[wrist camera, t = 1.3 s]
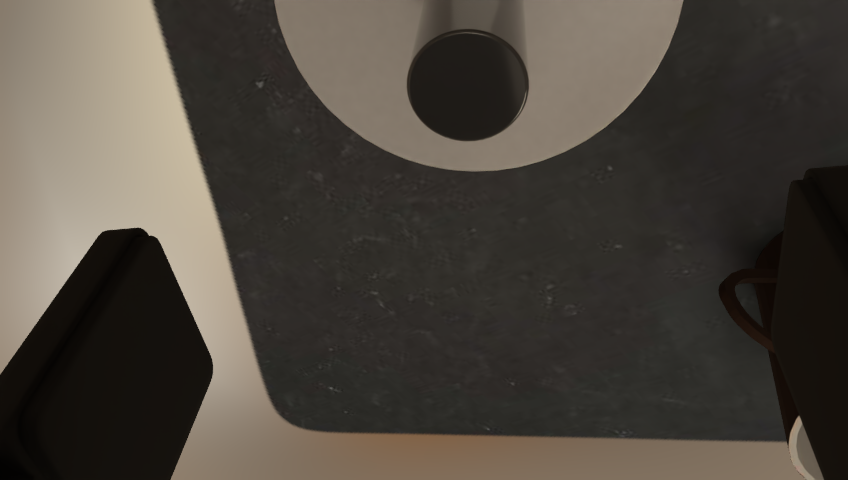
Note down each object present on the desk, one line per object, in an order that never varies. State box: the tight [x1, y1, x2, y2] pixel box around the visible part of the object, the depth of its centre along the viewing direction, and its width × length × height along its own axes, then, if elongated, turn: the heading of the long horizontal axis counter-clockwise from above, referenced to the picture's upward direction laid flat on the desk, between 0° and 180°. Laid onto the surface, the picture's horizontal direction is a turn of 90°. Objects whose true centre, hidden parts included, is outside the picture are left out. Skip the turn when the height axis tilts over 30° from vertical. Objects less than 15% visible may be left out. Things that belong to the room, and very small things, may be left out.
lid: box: [274, 0, 683, 171], centre depth 19 cm, size 11×11×7 cm
